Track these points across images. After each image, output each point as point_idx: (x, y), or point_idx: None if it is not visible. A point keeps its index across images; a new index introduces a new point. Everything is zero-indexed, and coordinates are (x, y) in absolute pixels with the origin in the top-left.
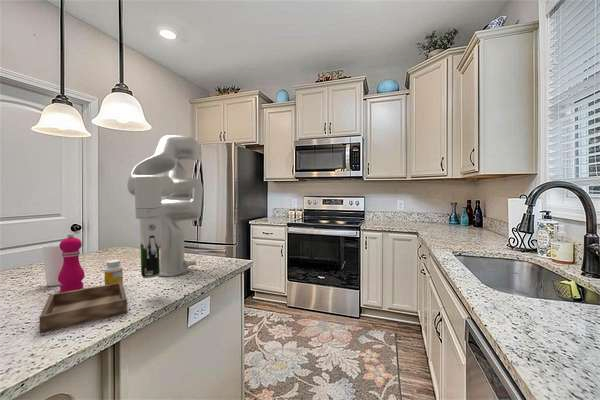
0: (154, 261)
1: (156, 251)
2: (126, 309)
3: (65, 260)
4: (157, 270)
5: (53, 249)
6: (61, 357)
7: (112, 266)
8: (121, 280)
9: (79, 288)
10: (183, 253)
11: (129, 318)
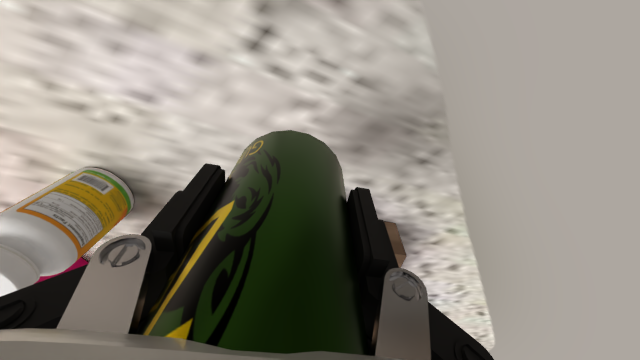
0: (393, 257)
1: (430, 344)
2: (396, 231)
3: None
4: (338, 169)
5: None
6: (483, 320)
7: (38, 269)
8: (93, 189)
9: (79, 260)
10: None
11: (438, 228)
